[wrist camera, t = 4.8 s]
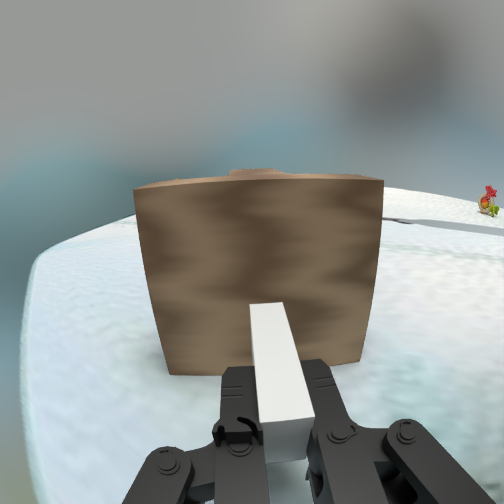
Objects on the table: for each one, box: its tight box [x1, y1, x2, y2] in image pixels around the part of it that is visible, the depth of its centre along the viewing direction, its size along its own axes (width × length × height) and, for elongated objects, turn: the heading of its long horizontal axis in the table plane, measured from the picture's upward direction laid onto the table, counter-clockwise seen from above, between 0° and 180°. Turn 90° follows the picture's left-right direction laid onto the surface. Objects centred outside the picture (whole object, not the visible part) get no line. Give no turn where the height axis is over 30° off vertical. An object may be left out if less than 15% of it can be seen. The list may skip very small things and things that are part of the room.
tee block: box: [133, 168, 384, 375], centre depth 23 cm, size 14×14×13 cm
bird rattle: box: [478, 185, 499, 217], centre depth 70 cm, size 6×11×9 cm
